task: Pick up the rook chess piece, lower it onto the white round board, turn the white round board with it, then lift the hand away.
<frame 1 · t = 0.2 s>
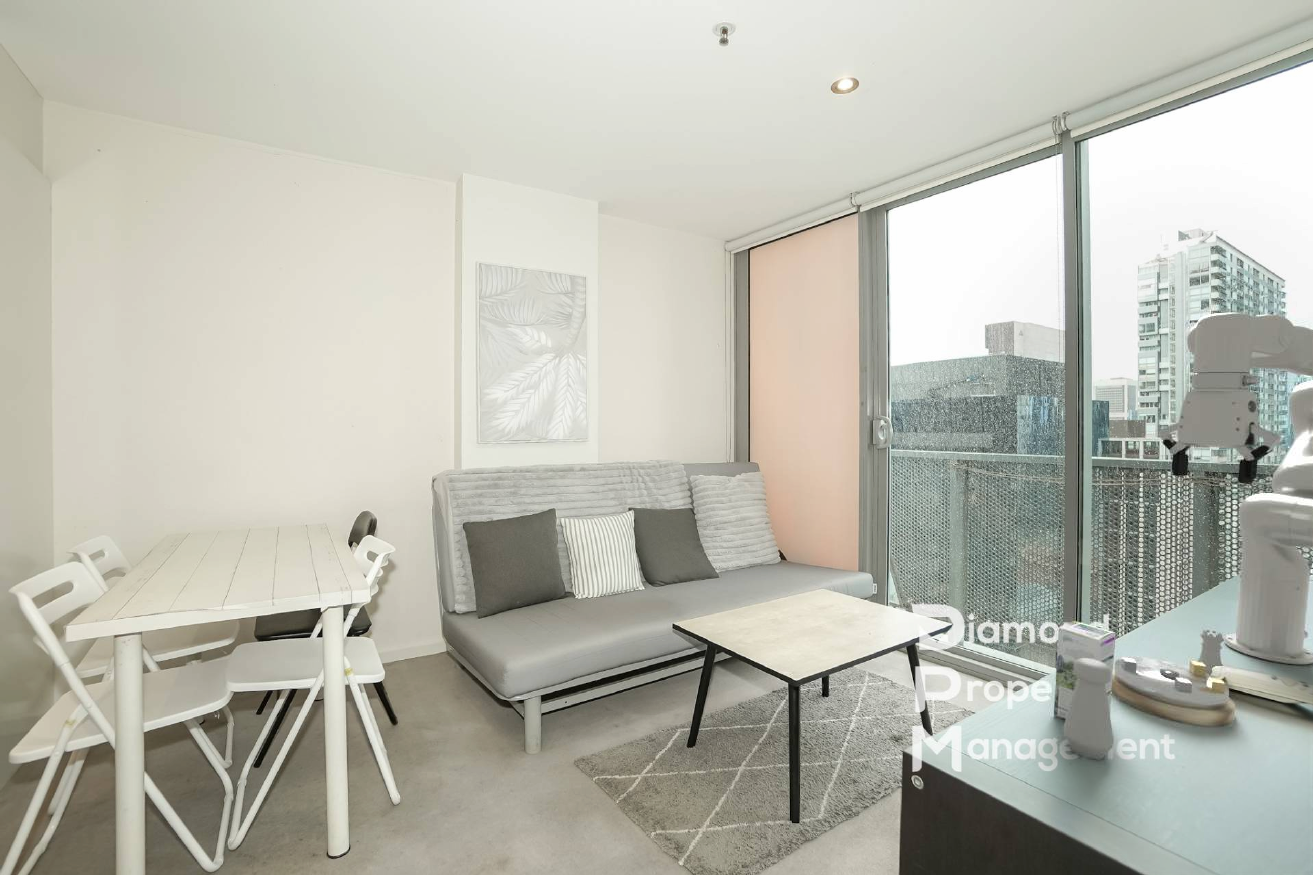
hand: (1211, 479, 109), 36 cm above the table, tool pointing down, fingers open, 9 cm apart
salt shaker: (1086, 752, 85), on the table
rook chess piece: (1208, 676, 110), on the table
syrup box: (1081, 720, 94), on the table
nut housing: (1167, 700, 100), on the table
white round board: (1169, 676, 100), point 4 cm above the table, hinge at 0.0°
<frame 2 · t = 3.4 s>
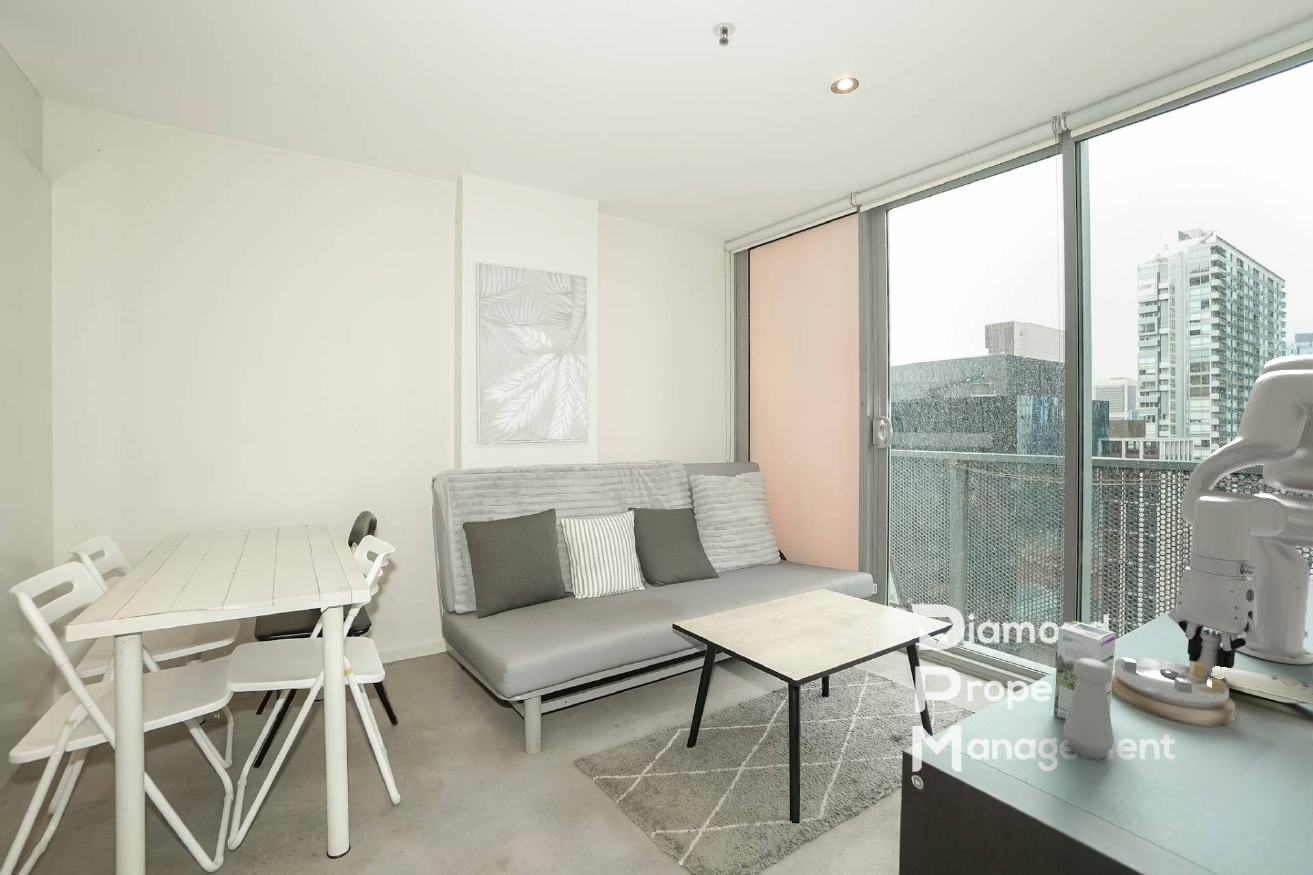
hand: (1209, 664, 110), 2 cm above the table, tool pointing down, fingers closed on rook chess piece, 3 cm apart
rook chess piece: (1208, 676, 110), on the table, touching gripper
everything else where it was.
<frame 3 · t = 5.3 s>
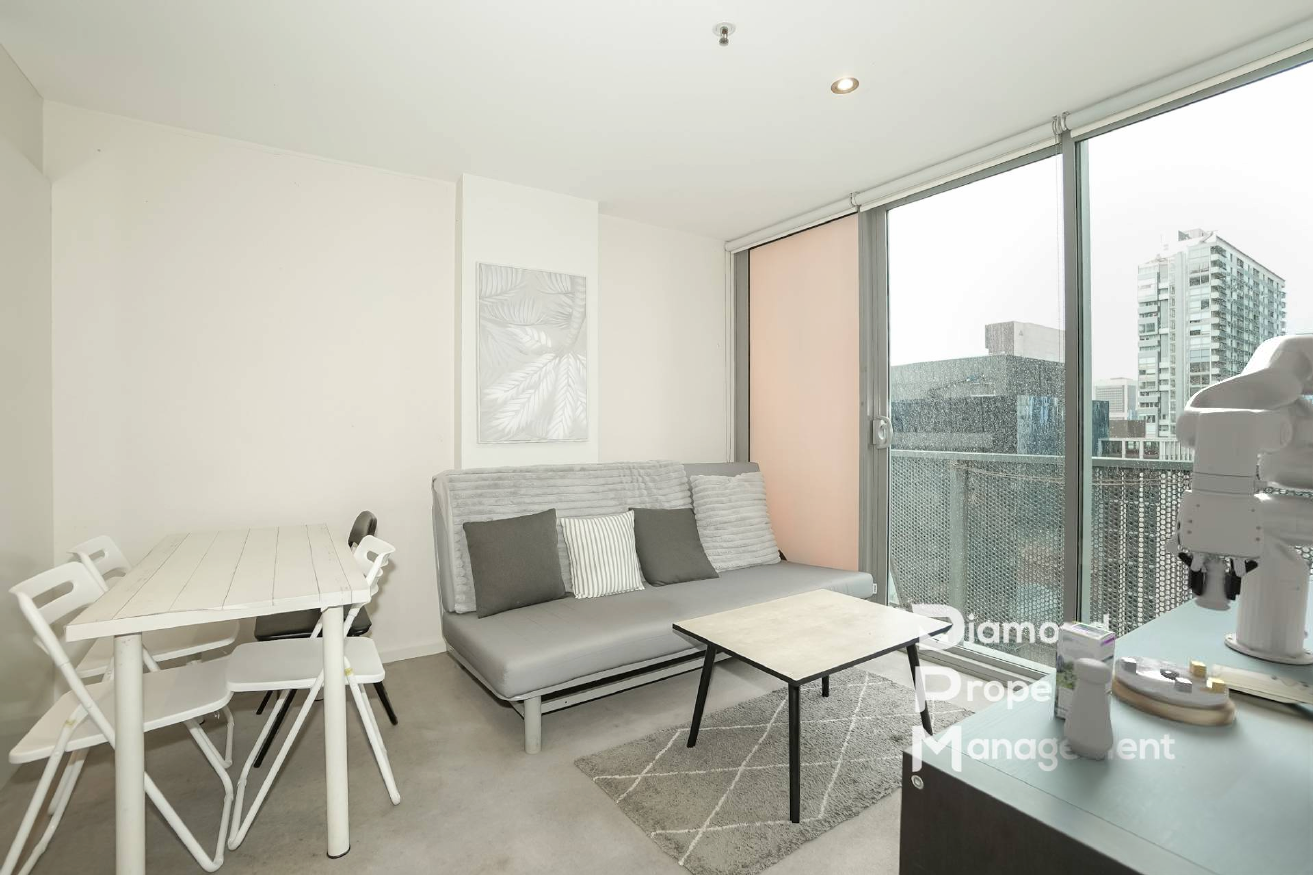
hand: (1212, 594, 99), 18 cm above the table, tool pointing down, fingers closed on rook chess piece, 3 cm apart
rook chess piece: (1211, 608, 100), point 16 cm above the table, touching gripper
everything else where it was.
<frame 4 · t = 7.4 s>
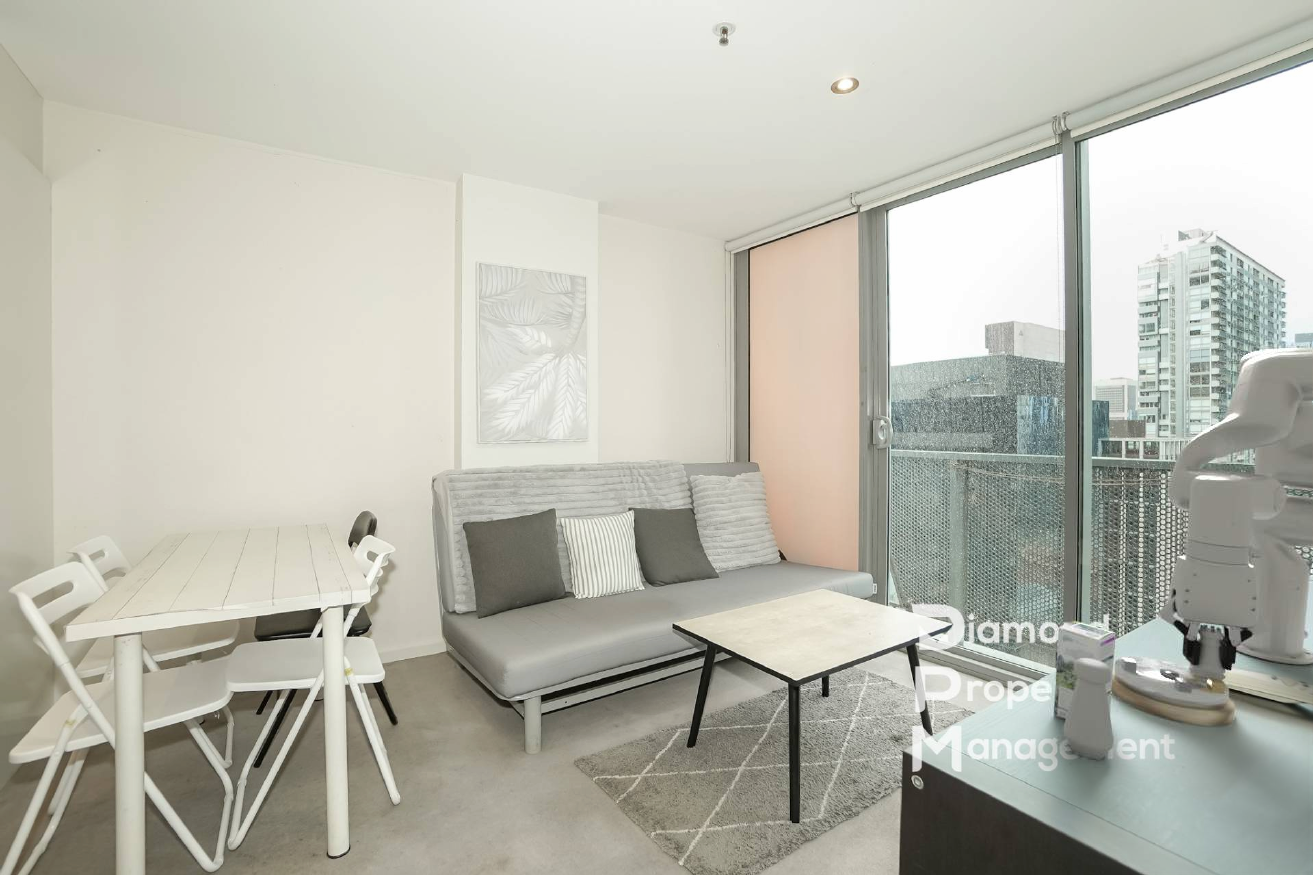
hand: (1207, 663, 98), 7 cm above the table, tool pointing down, fingers closed on rook chess piece, 3 cm apart
rook chess piece: (1206, 676, 98), point 5 cm above the table, touching gripper
everything else where it was.
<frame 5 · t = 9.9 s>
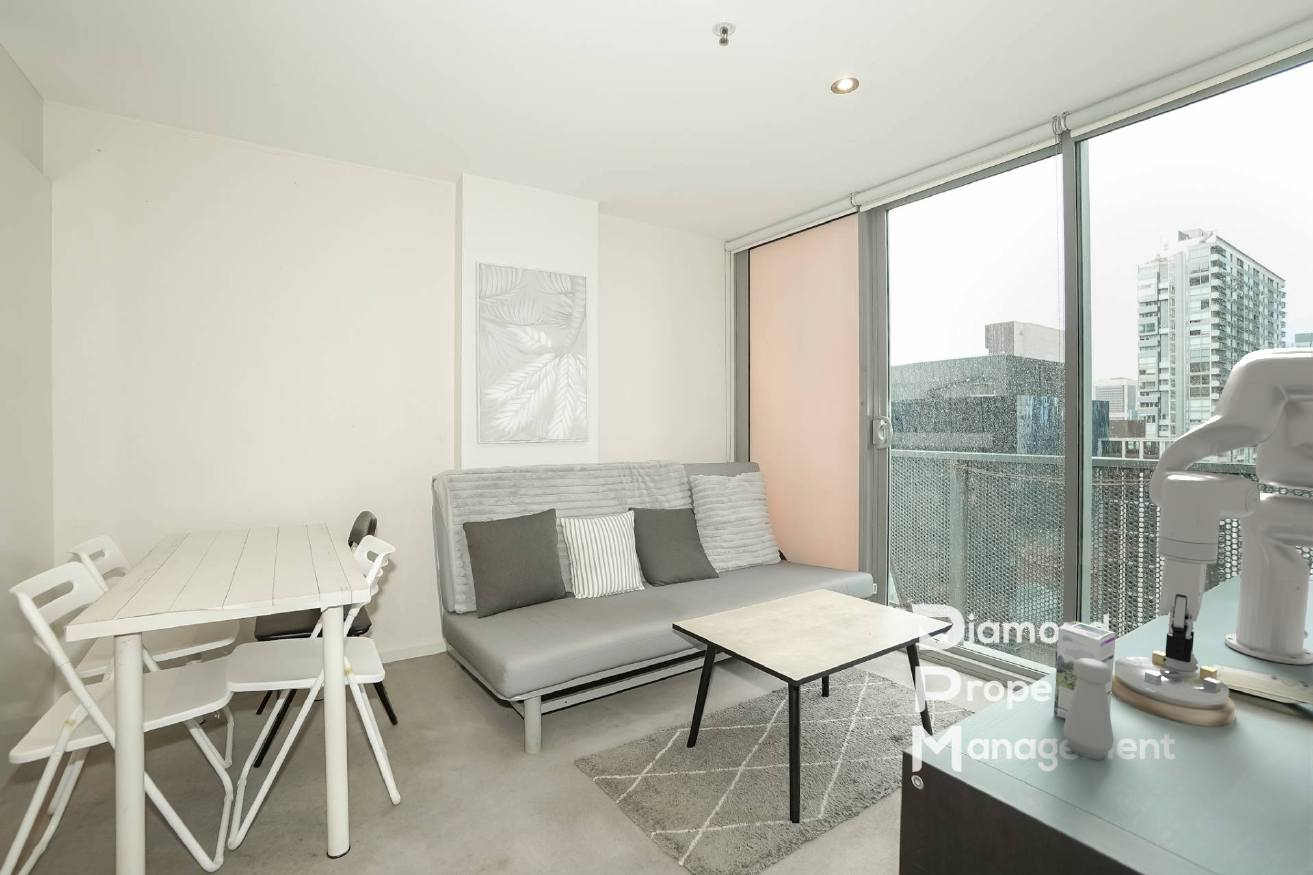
hand: (1178, 654, 103), 7 cm above the table, tool pointing down, fingers closed on rook chess piece, 3 cm apart
rook chess piece: (1181, 668, 103), point 4 cm above the table, touching gripper, white round board
white round board: (1169, 676, 100), point 4 cm above the table, hinge at 51.2°, touching rook chess piece
everything else where it was.
when the fingers open (6 cm above the table, at t = 11.5 s): rook chess piece stays where it is, resting on white round board.
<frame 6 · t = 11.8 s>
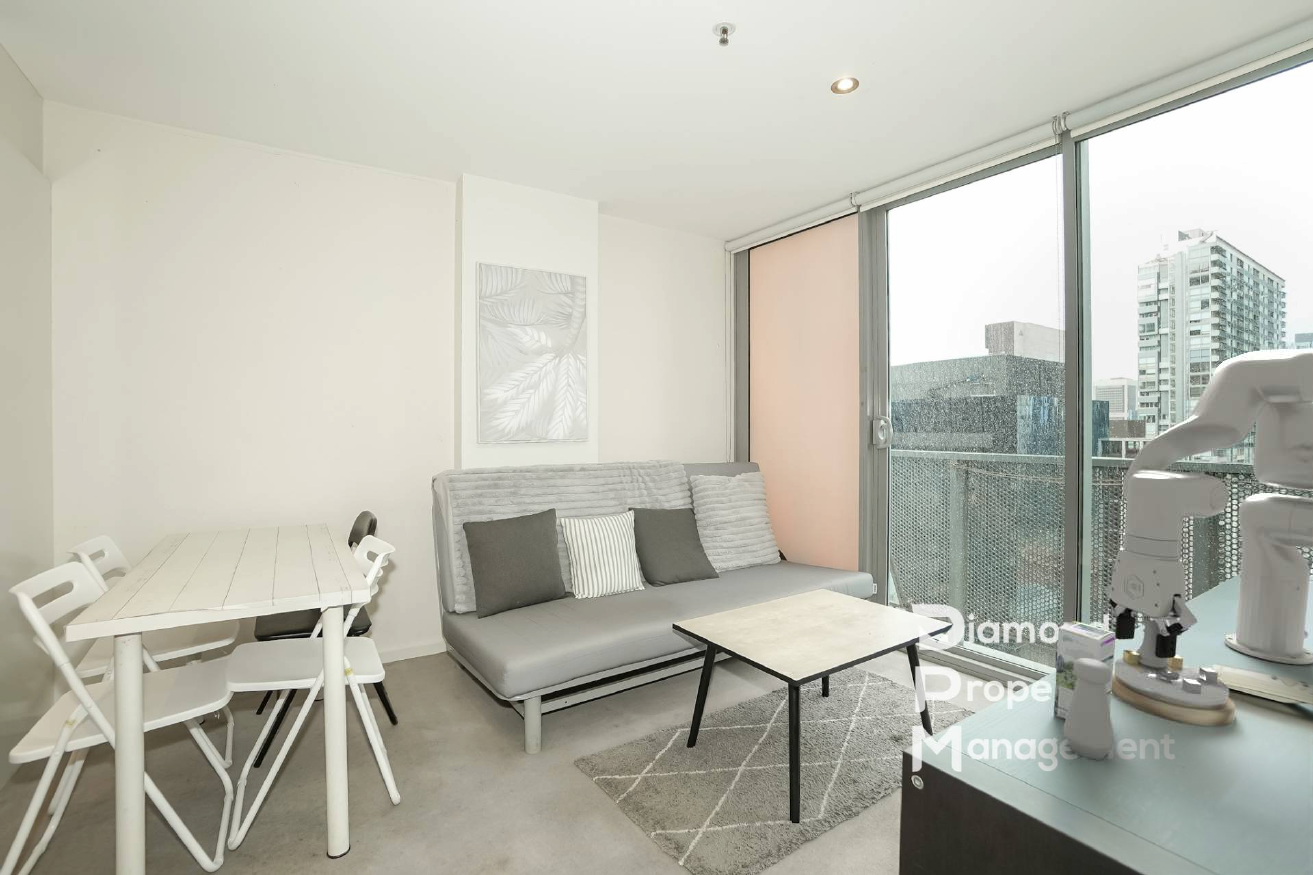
hand: (1144, 646, 105), 7 cm above the table, tool pointing down, fingers open, 7 cm apart
rook chess piece: (1151, 664, 105), point 4 cm above the table, touching white round board
white round board: (1169, 676, 100), point 4 cm above the table, hinge at 101.4°, touching rook chess piece
everything else where it was.
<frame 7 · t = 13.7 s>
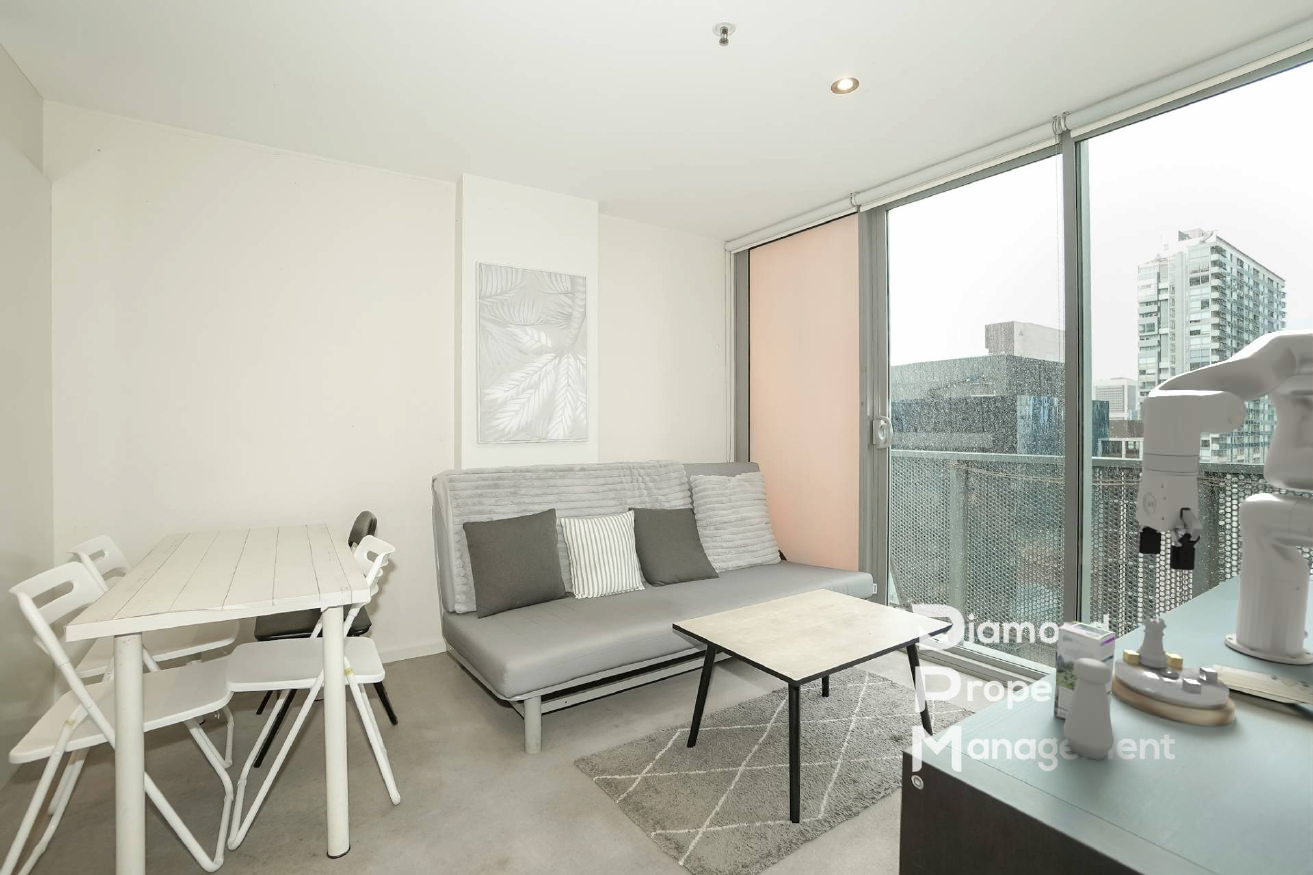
hand: (1164, 561, 106), 22 cm above the table, tool pointing down, fingers open, 9 cm apart
nothing on the table moved.
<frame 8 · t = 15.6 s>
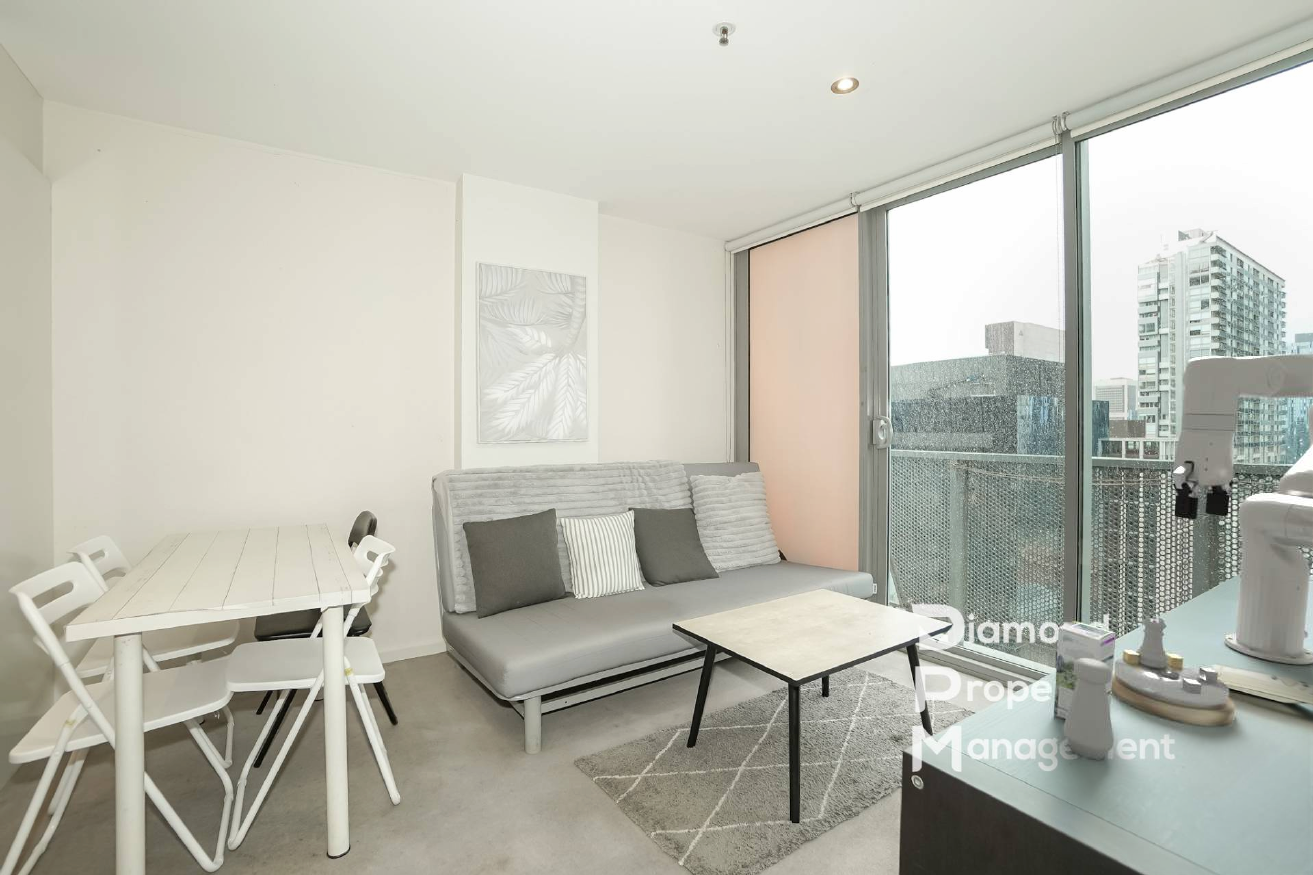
hand: (1201, 516, 112), 28 cm above the table, tool pointing down, fingers open, 9 cm apart
nothing on the table moved.
at the end: white round board at +101° (first picture: +0°); rook chess piece 0.9 cm from the target spot on the white round board, point 4.0 cm above the white round board's base; rook chess piece tilted 0° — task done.
